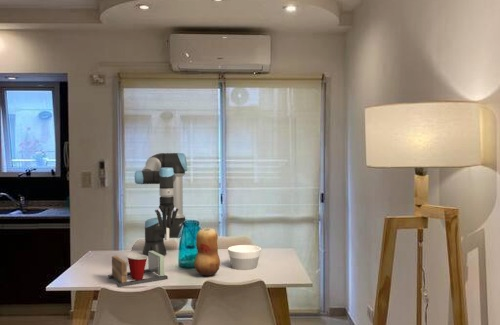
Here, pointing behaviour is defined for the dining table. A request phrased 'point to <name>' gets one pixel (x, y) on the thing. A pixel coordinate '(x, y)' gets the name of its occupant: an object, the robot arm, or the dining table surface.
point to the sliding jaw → (156, 262)
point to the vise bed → (128, 273)
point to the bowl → (244, 256)
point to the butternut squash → (207, 252)
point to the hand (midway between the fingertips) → (166, 239)
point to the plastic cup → (137, 265)
